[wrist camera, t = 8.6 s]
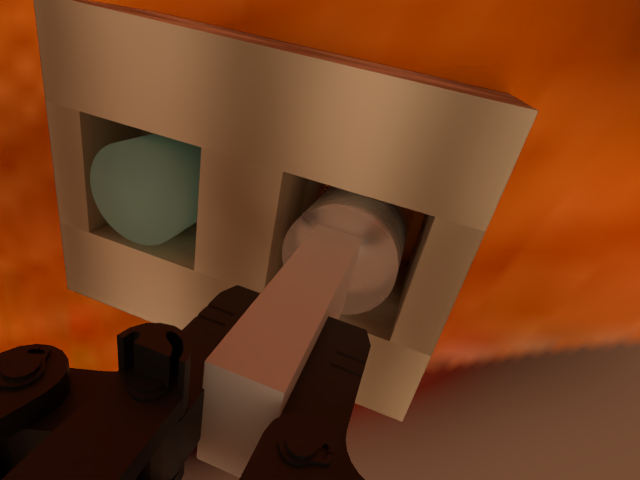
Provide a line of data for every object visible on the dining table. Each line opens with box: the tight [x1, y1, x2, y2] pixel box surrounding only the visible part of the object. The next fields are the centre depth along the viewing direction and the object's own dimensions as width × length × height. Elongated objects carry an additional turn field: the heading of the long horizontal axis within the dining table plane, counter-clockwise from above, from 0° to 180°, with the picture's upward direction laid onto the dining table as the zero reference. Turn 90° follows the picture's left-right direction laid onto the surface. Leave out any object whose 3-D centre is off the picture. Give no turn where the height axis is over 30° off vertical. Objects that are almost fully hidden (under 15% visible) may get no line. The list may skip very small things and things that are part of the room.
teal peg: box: [90, 133, 201, 245], centre depth 17 cm, size 4×4×6 cm
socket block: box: [34, 0, 538, 421], centre depth 17 cm, size 16×12×6 cm
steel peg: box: [282, 186, 413, 315], centre depth 16 cm, size 4×4×6 cm
